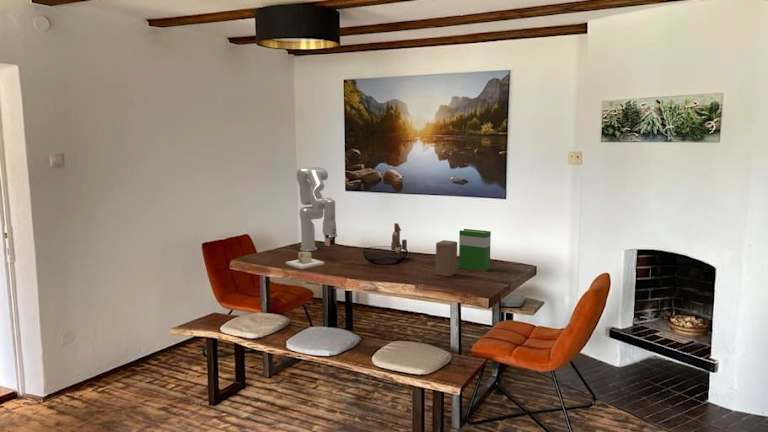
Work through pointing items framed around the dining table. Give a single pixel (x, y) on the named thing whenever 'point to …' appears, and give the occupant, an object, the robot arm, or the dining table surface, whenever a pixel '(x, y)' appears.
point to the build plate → (304, 265)
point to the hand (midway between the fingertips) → (329, 244)
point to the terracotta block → (327, 241)
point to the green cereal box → (474, 249)
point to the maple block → (304, 257)
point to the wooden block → (446, 258)
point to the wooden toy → (397, 240)
